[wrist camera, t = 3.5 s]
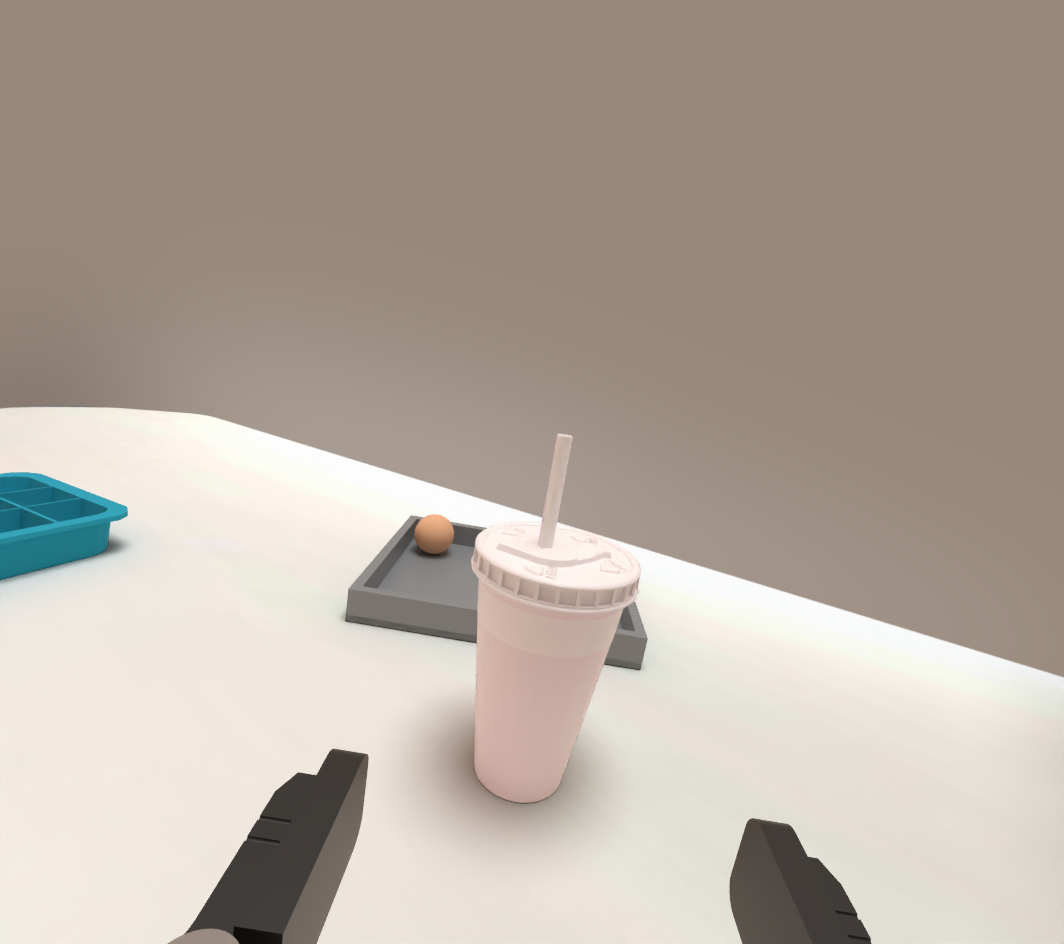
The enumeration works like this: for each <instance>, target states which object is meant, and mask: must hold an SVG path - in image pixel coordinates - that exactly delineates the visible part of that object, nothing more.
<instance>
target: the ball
mask: <svg viewBox="0 0 1064 944" xmlns="http://www.w3.org/2000/svg"><path fill="white" fill-rule="evenodd" d="M414 536H415V541H416V543H417V545H418V546H419V548H420V549H421V550H423V551H424V552H427V553H430V554H438V553H441V552H443V551H445V550H446V549H448V548H449V547H450V545H451V544H452V542H453V539H454V529H453V526H452V524H451V523H450V521H449V520H448V519H446V518H445V517H443V516H441V515H429V516H426V517H424V518H423V519H421V520H420V521H419V523H418V524H417V526H416V528H415V533H414Z"/></svg>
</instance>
